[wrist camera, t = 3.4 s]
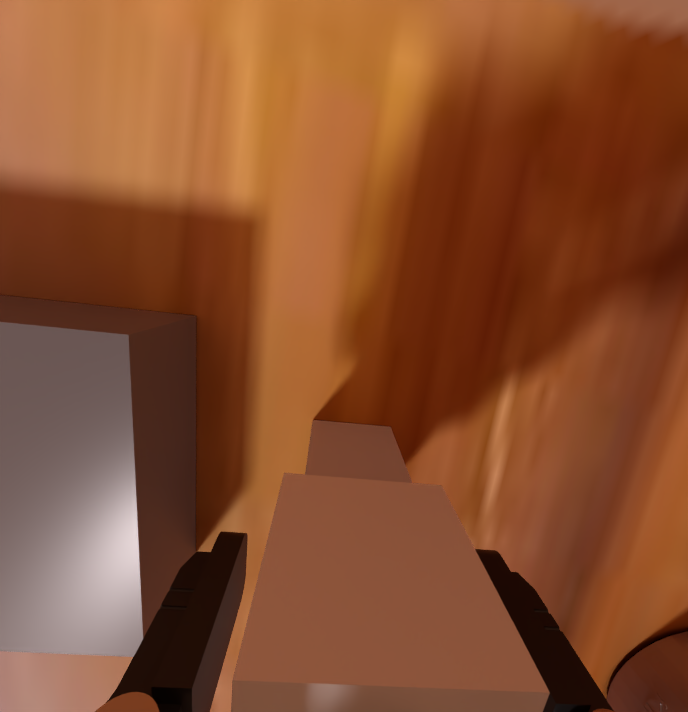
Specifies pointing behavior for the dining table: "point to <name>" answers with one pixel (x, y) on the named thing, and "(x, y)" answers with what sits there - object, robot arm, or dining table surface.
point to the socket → (93, 472)
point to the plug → (375, 596)
